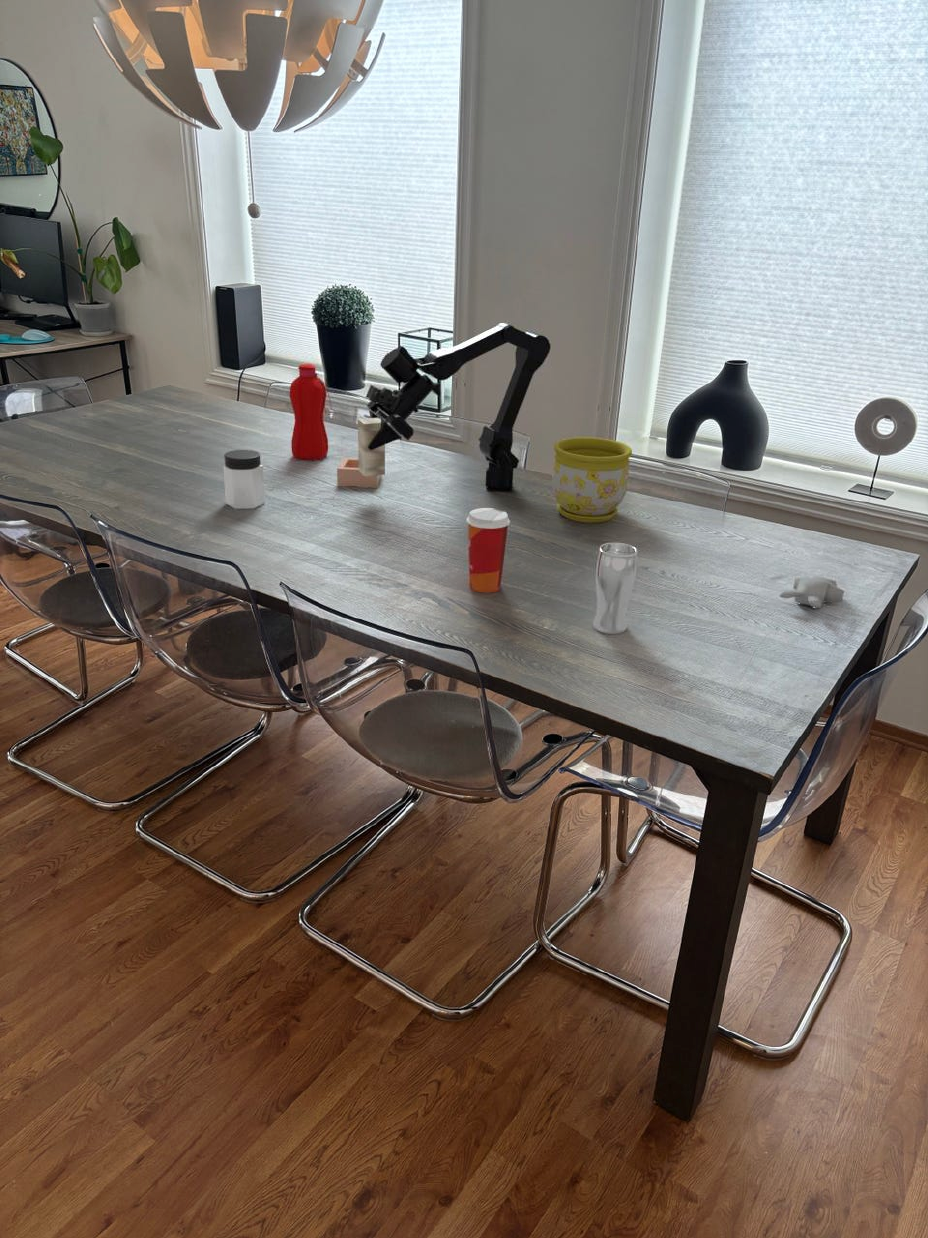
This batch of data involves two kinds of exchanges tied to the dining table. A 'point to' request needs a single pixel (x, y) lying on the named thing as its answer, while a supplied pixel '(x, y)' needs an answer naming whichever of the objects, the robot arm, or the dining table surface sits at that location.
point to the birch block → (369, 459)
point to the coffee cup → (486, 548)
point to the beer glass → (614, 586)
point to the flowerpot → (590, 477)
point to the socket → (354, 475)
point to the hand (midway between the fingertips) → (365, 445)
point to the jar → (243, 479)
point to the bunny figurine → (814, 591)
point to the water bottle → (308, 415)
